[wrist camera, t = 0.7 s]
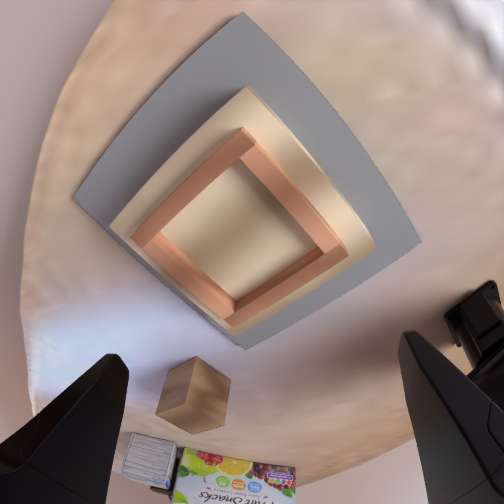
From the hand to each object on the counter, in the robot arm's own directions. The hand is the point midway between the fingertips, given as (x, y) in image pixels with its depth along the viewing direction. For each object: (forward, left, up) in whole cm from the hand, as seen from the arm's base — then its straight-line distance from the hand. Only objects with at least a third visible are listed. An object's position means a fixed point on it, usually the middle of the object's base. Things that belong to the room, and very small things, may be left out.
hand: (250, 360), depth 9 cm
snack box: (-35, +36, -14) cm, 52 cm away
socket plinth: (0, +2, -13) cm, 13 cm away
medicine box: (-21, +43, -14) cm, 50 cm away
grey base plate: (0, +2, -14) cm, 14 cm away
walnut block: (-11, +19, -14) cm, 26 cm away
